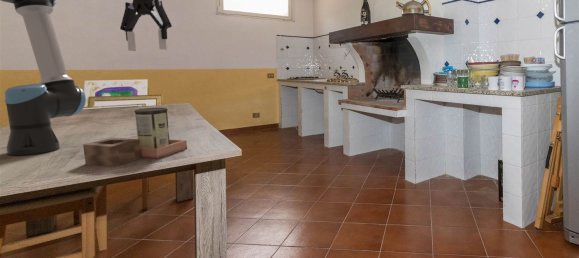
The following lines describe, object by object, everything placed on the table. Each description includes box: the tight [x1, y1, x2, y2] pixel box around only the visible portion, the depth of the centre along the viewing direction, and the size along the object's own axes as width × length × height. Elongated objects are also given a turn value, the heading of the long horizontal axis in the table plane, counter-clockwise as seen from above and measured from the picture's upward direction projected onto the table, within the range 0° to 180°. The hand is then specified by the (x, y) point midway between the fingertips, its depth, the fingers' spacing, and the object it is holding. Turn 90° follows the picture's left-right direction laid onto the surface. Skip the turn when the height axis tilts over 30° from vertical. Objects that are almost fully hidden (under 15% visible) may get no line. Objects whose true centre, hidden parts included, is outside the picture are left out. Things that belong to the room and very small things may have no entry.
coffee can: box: [134, 107, 170, 149], centre depth 117 cm, size 10×10×14 cm
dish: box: [140, 138, 188, 160], centre depth 117 cm, size 15×15×3 cm
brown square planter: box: [82, 137, 142, 168], centre depth 106 cm, size 11×11×6 cm
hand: (147, 50), depth 120 cm, fingers open, 13 cm apart
